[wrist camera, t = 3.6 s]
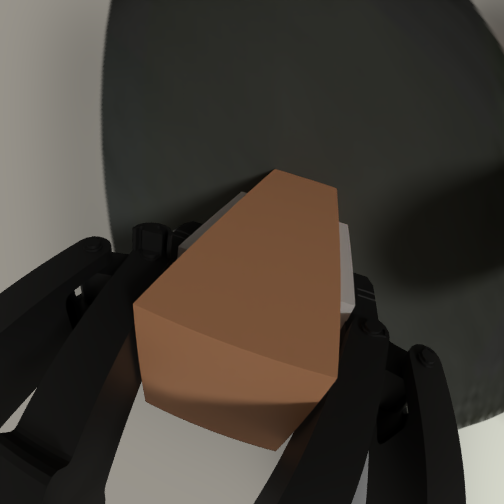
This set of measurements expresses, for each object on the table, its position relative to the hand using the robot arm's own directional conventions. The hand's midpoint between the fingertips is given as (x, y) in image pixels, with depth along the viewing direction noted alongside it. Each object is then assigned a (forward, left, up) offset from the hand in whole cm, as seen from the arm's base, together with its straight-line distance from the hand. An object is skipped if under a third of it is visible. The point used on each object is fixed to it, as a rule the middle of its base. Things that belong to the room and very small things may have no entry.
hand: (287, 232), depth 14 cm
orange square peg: (0, 0, -4) cm, 4 cm away
